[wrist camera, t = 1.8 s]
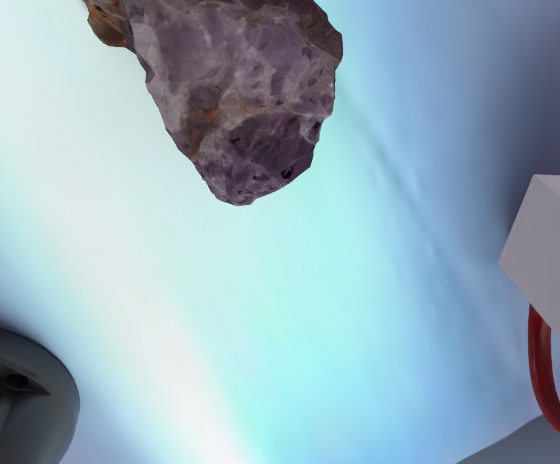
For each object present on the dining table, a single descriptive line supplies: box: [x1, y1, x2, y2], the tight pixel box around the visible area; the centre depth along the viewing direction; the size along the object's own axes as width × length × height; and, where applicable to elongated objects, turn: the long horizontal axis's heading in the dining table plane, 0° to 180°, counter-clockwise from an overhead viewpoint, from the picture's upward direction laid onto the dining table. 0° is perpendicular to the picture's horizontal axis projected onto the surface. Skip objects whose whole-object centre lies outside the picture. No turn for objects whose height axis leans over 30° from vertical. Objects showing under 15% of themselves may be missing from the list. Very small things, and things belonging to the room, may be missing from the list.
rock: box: [83, 0, 343, 206], centre depth 23 cm, size 12×9×10 cm
